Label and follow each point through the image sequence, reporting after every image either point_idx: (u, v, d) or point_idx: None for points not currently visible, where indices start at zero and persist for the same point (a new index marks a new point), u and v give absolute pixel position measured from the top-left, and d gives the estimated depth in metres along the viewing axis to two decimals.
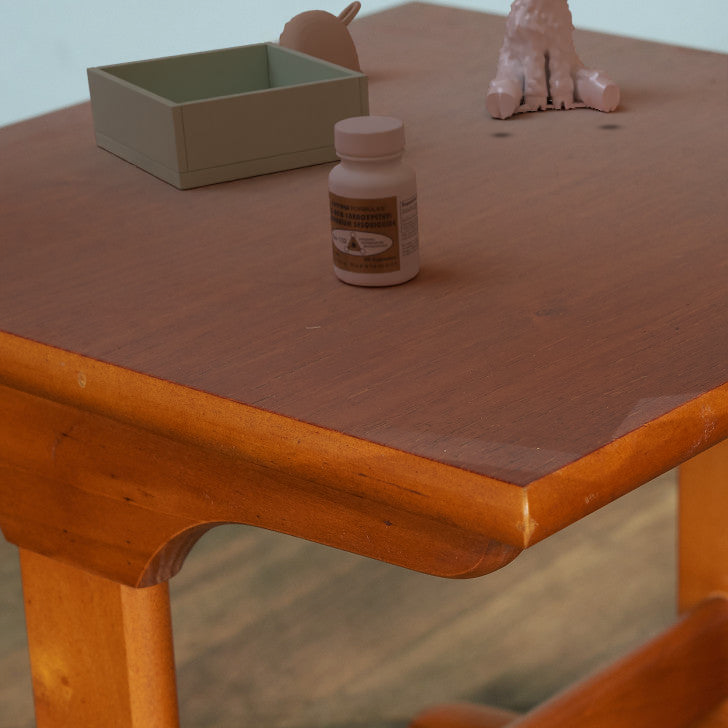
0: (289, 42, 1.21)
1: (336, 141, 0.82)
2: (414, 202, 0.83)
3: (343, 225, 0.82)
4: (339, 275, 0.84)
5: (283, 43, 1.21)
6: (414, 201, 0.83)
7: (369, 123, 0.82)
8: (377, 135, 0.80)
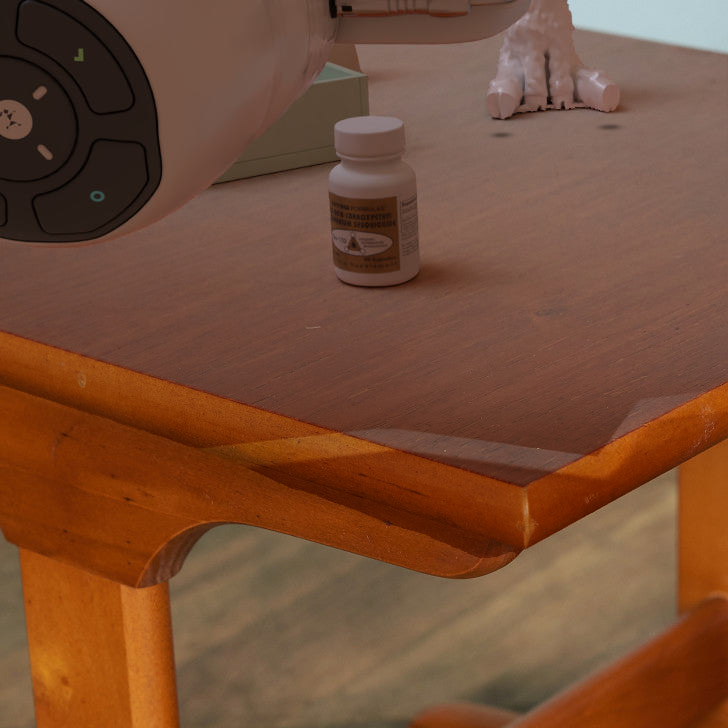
0: None
1: (336, 141, 0.82)
2: (414, 202, 0.83)
3: (343, 225, 0.82)
4: (339, 275, 0.84)
5: None
6: (414, 201, 0.83)
7: (369, 123, 0.82)
8: (377, 135, 0.80)
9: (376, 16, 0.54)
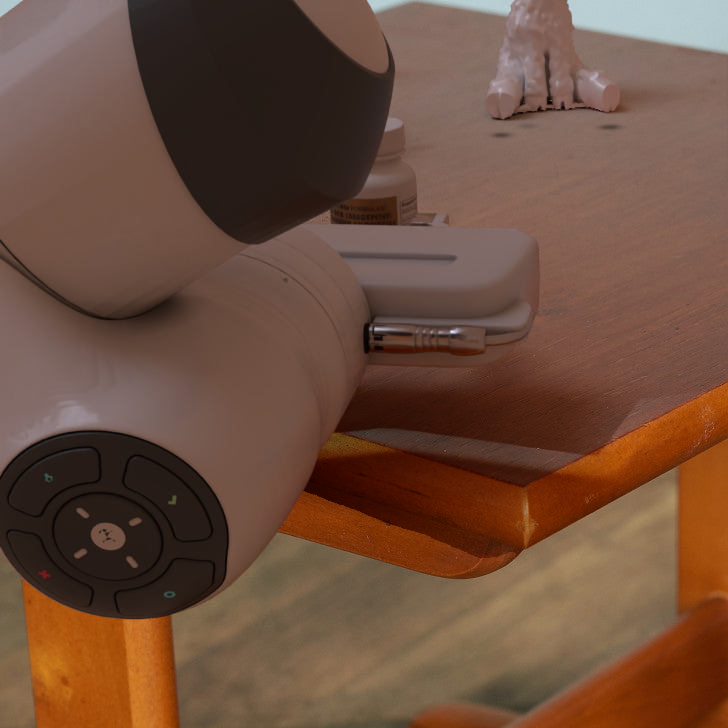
0: None
1: None
2: (414, 202, 0.83)
3: None
4: None
5: None
6: (414, 201, 0.83)
7: None
8: None
9: (404, 353, 0.62)
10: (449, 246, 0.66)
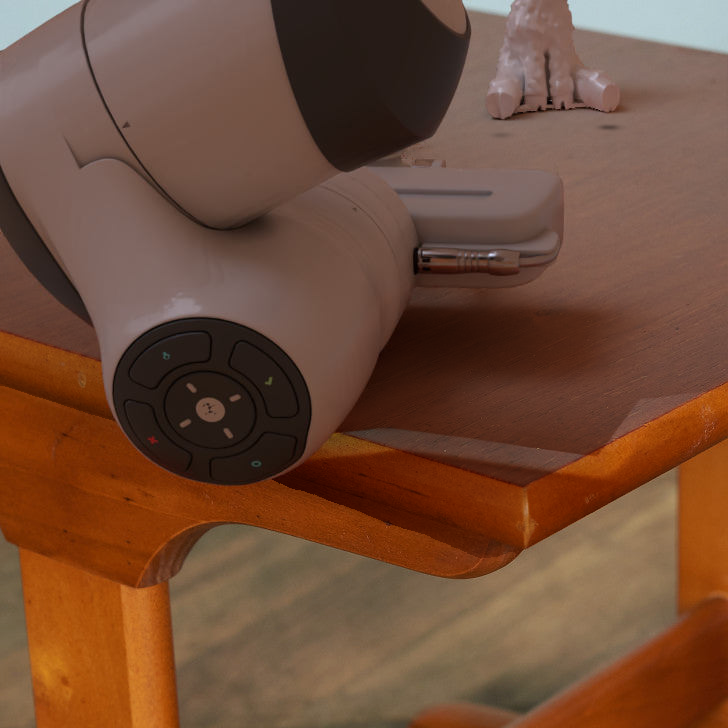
0: None
1: None
2: None
3: None
4: None
5: None
6: None
7: None
8: None
9: (448, 274, 0.71)
10: (485, 184, 0.75)
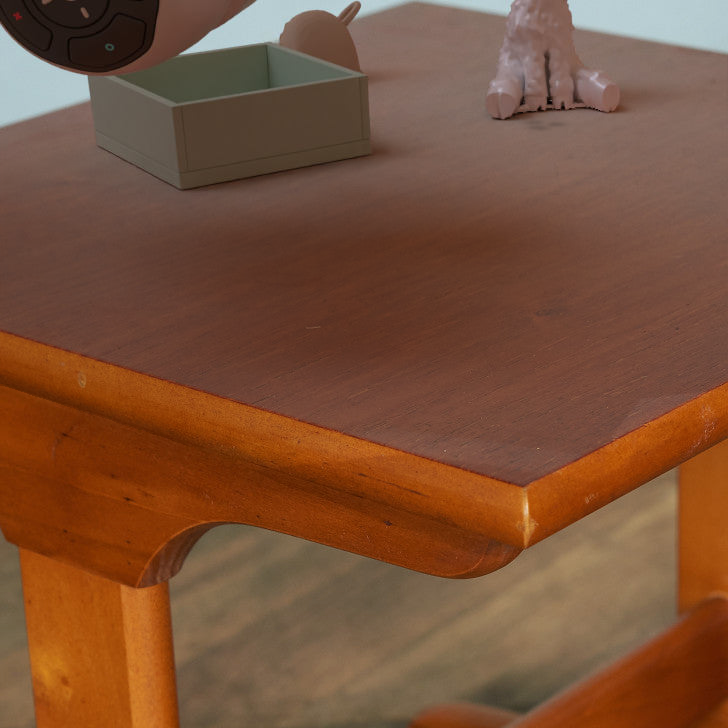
0: (289, 42, 1.21)
1: None
2: None
3: None
4: None
5: (283, 43, 1.21)
6: None
7: None
8: None
9: None
10: None
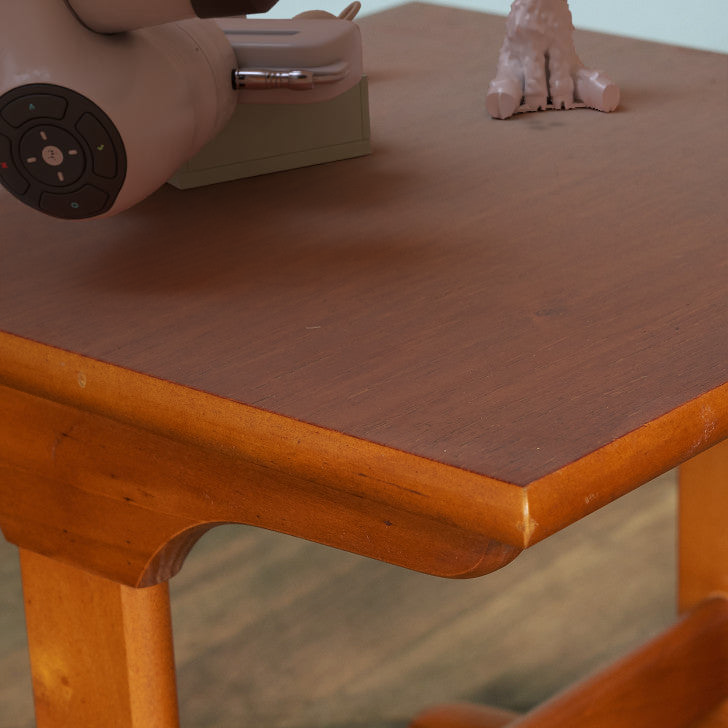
0: None
1: None
2: None
3: None
4: None
5: None
6: None
7: None
8: None
9: (259, 89, 0.93)
10: (296, 27, 0.97)
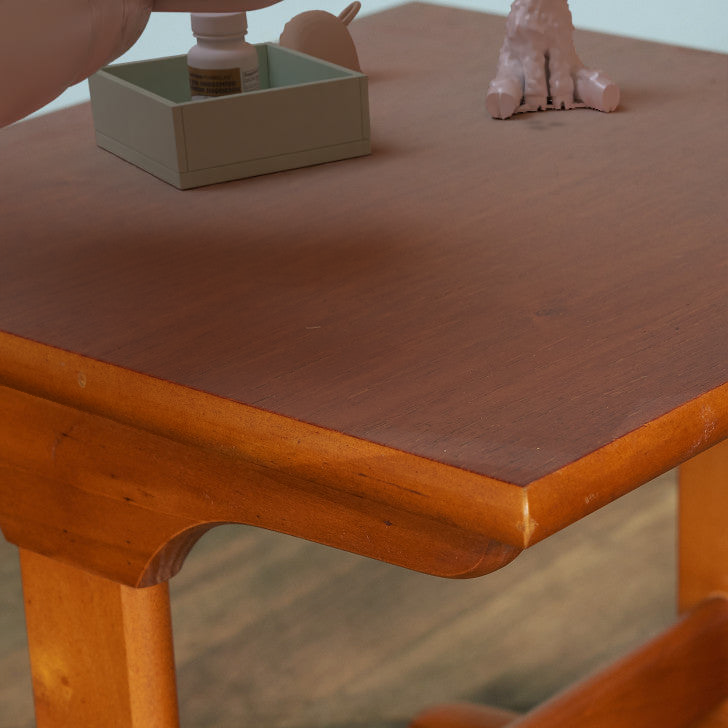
0: (289, 42, 1.21)
1: (191, 24, 1.03)
2: (256, 74, 1.05)
3: (198, 92, 1.04)
4: None
5: (283, 43, 1.21)
6: (255, 73, 1.05)
7: None
8: (223, 18, 1.02)
9: None
10: None
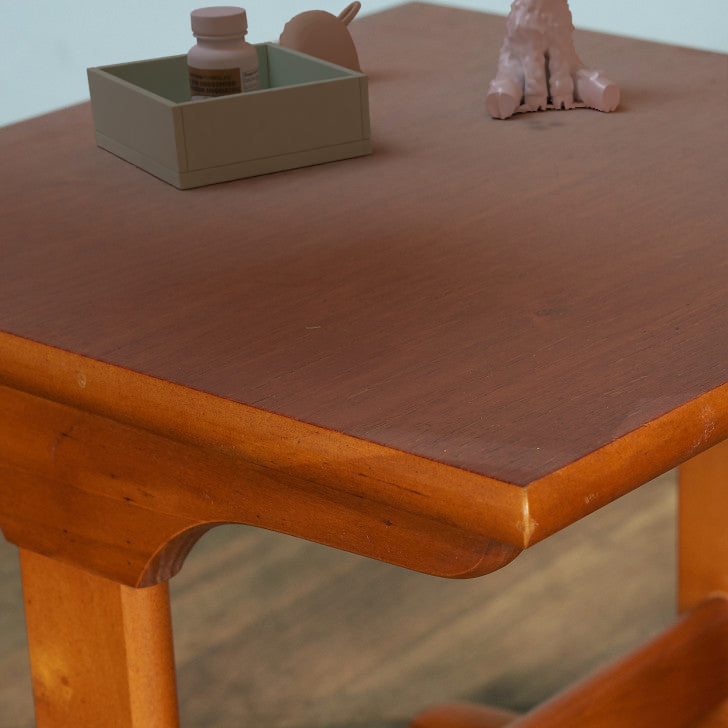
0: (289, 42, 1.21)
1: (191, 24, 1.03)
2: (256, 74, 1.05)
3: (198, 92, 1.04)
4: None
5: (283, 43, 1.21)
6: (255, 73, 1.05)
7: (218, 10, 1.04)
8: (223, 18, 1.02)
9: None
10: None
